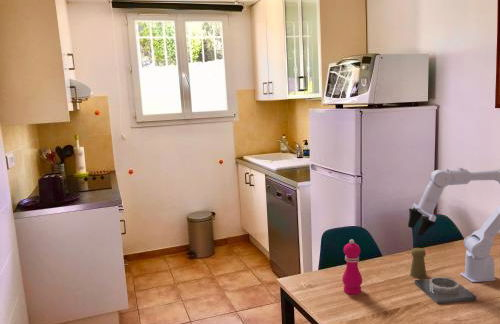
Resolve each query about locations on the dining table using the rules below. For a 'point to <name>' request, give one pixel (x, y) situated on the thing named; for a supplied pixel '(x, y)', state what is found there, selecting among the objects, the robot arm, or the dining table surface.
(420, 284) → the plate
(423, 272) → the cork
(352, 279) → the pepper mill
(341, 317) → the dining table surface
